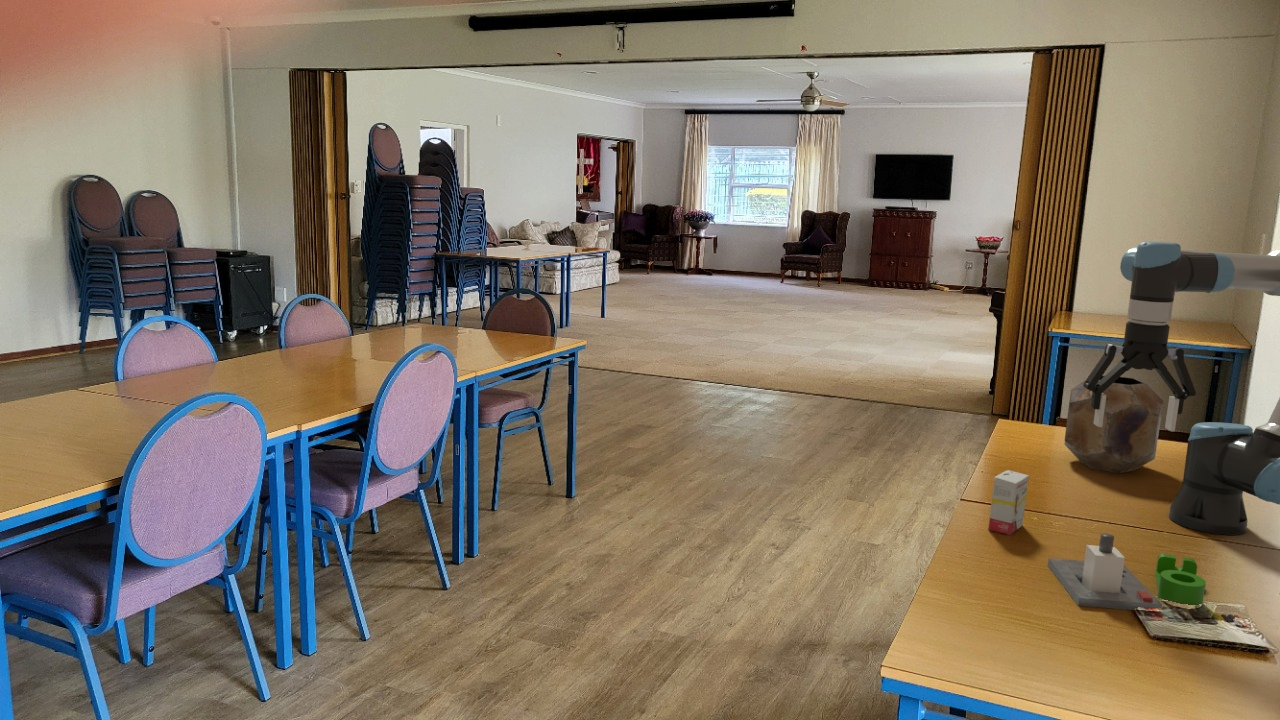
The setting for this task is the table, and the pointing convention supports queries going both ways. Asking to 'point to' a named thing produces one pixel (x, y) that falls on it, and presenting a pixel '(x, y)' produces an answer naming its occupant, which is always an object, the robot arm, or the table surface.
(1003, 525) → the ink box
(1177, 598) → the green ring bracket
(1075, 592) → the socket plate
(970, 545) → the table surface
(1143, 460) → the planter
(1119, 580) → the plug
